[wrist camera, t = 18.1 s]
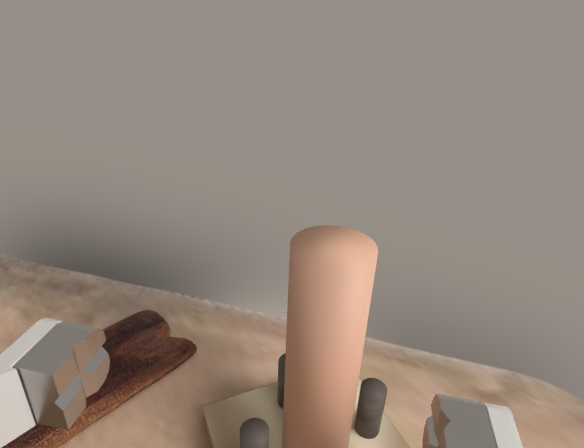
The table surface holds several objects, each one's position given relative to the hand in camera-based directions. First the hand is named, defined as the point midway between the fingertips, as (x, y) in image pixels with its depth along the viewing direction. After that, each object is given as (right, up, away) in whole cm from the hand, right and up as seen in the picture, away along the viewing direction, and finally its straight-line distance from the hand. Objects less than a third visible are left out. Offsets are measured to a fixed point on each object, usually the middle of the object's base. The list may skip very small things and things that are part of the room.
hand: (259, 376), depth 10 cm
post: (+3, -14, +22) cm, 26 cm away
